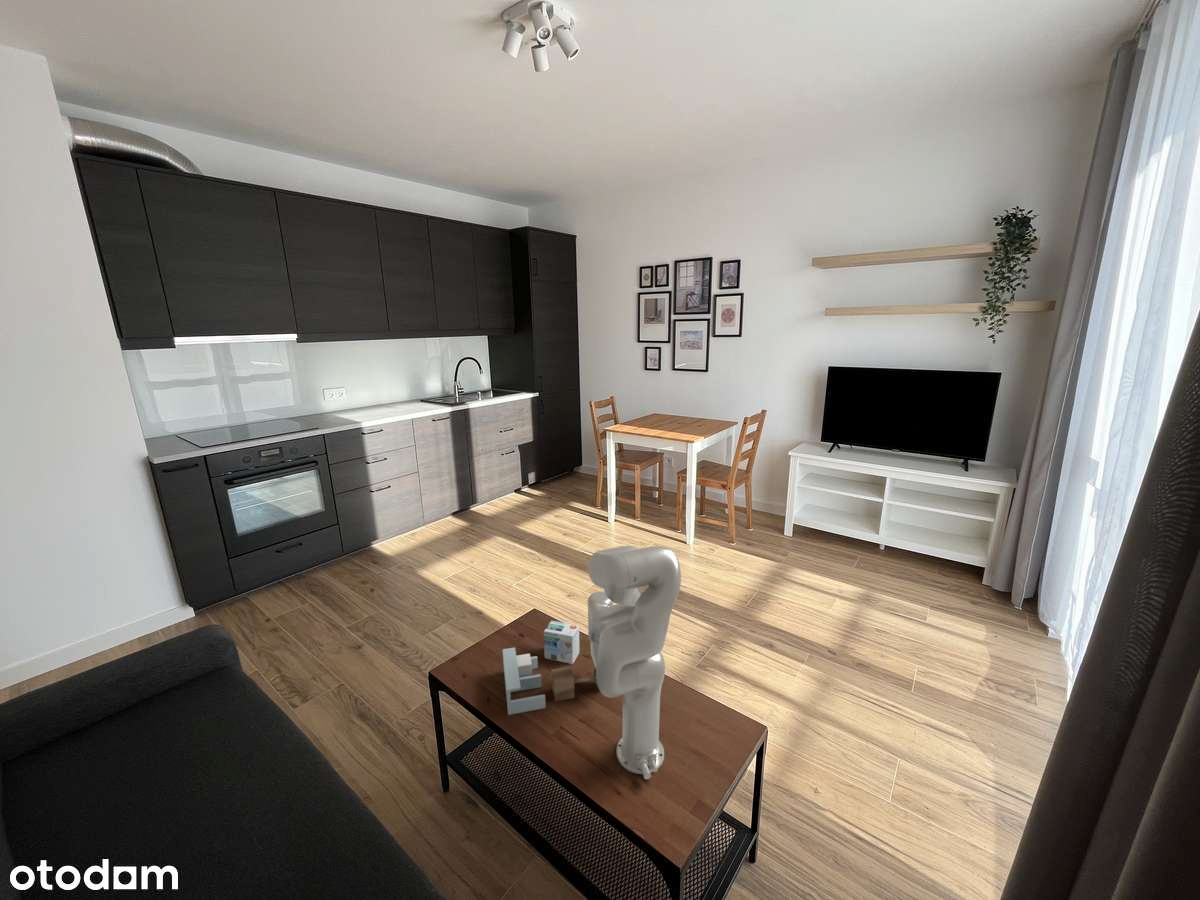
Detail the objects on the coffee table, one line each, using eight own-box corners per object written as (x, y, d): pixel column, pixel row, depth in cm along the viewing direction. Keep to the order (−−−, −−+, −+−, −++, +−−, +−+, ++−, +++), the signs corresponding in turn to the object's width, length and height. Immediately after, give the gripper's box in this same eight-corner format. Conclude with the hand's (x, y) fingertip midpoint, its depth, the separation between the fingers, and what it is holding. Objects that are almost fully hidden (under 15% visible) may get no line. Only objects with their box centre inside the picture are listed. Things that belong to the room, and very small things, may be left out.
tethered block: (606, 691, 154) (606, 672, 152) (555, 701, 150) (554, 681, 148) (602, 679, 159) (602, 660, 158) (552, 688, 155) (551, 669, 154)
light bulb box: (544, 658, 169) (543, 631, 167) (551, 646, 176) (550, 619, 173) (573, 664, 166) (572, 636, 164) (580, 652, 173) (579, 625, 170)
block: (532, 683, 158) (531, 664, 156) (513, 686, 157) (512, 667, 155) (530, 671, 163) (529, 653, 161) (512, 675, 162) (511, 656, 160)
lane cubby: (545, 707, 148) (544, 683, 146) (508, 715, 145) (506, 690, 143) (537, 666, 166) (536, 643, 163) (503, 672, 163) (502, 649, 161)
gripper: (619, 646, 145) (619, 699, 150) (605, 615, 160) (605, 664, 165) (594, 650, 143) (595, 704, 148) (582, 619, 158) (583, 668, 163)
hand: (600, 682), depth 156 cm, fingers closed on tethered block, 2 cm apart
